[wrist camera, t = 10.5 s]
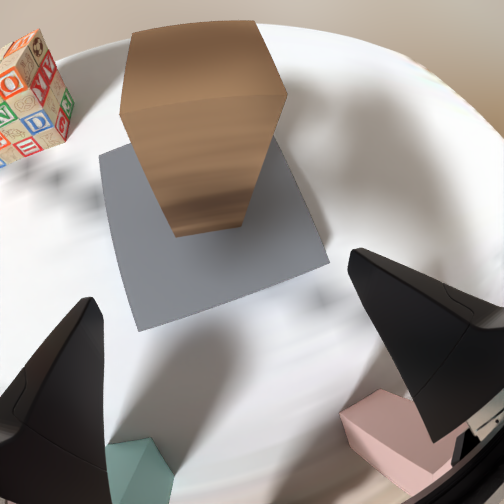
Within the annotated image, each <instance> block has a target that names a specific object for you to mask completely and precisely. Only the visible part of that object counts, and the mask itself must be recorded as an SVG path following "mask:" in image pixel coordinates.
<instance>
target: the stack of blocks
mask: <svg viewBox="0 0 504 504" xmlns="http://www.w3.org/2000/svg"><path fill="white" fill-rule="evenodd" d="M73 105H74V101H73V99H72V97H71V95H70V93H69V92H68V90H67V88H66V87H65V84H64V82H63V80H62V78H61V76H60V74H59V71H58V70H57V66H56V64H55V62H54V60H53V57H52V56H51V53H50V51H49V49H48V48H47V46H46V43H45V41H44V38H43V36H42V33H41V31H40V29H37V30H35V31H33V32H31V33H29V34H27V35H26V36H24V37H22V38H20V39H18V40H16V41H15V42H11V43H9V44H7V45H6V46H4V47H3V48H1V49H0V168H2V167H4V166H6V165H7V164H10V163H12V162H14V161H17V160H19V159H21V158H23V157H27V156H30V155H32V154H34V153H37V152H40V151H42V150H45V149H48V148H51V147H54V146H57V145H59V144H62V143H65V142H66V137H67V132H68V127H69V123H70V117H71V113H72V109H73Z"/></svg>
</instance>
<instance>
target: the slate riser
mask: <svg viewBox="0 0 504 504" xmlns="http://www.w3.org/2000/svg"><path fill="white" fill-rule="evenodd" d="M99 163H100V172H101V179H102V186H103V193H104V199H105V205H106V211H107V216H108V222H109V227H110V231H111V236H112V241H113V245H114V249H115V254H116V258H117V262H118V266H119V270H120V273H121V277H122V281H123V284H124V288H125V291H126V295H127V298H128V301H129V304H130V308H131V311H132V314H133V317H134V320H135V323H136V326H137V329H138V332H140V331H144V330H147V329H150V328H154V327H157V326H160V325H163V324H166V323H169V322H172V321H175V320H178V319H181V318H184V317H187V316H190V315H193V314H196V313H199V312H201V311H204V310H207V309H210V308H213V307H216V306H219V305H221V304H224V303H227V302H230V301H233V300H235V299H238V298H241V297H244V296H246V295H249V294H252V293H254V292H257V291H260V290H263V289H265V288H268V287H271V286H273V285H276V284H278V283H281V282H284V281H286V280H289V279H291V278H294V277H297V276H299V275H302V274H304V273H307V272H309V271H312V270H314V269H317V268H319V267H321V266H324V265H326V264H329V263H330V261H329V259H328V256H327V254H326V251H325V249H324V246H323V244H322V241H321V239H320V236H319V234H318V232H317V229H316V227H315V224H314V222H313V220H312V217H311V215H310V213H309V210H308V208H307V206H306V204H305V201H304V199H303V197H302V195H301V192H300V190H299V188H298V186H297V184H296V181H295V179H294V177H293V175H292V173H291V171H290V168H289V166H288V164H287V162H286V160H285V158H284V156H283V154H282V152H281V150H280V148H279V146H278V144H277V142H276V140H275V138H274V136H273V137H272V139H271V142H270V145H269V148H268V151H267V153H266V156H265V159H264V162H263V165H262V168H261V171H260V173H259V176H258V179H257V182H256V185H255V188H254V191H253V194H252V197H251V199H250V202H249V205H248V208H247V211H246V214H245V217H244V220H243V223H242V226H241V227H237V228H231V229H225V230H219V231H213V232H207V233H201V234H195V235H189V236H183V237H177V238H176V237H175V235H174V233H173V231H172V229H171V227H170V226H169V224H168V221H167V219H166V217H165V215H164V213H163V211H162V209H161V207H160V205H159V203H158V201H157V199H156V197H155V195H154V193H153V191H152V188H151V186H150V184H149V182H148V180H147V178H146V175H145V173H144V171H143V169H142V167H141V164H140V162H139V160H138V158H137V155H136V153H135V151H134V148H133V146H132V144H131V143H130V144H127V145H124V146H122V147H119V148H117V149H114V150H111V151H109V152H106V153H104V154H101V155H99Z"/></svg>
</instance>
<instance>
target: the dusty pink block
mask: <svg viewBox="0 0 504 504" xmlns="http://www.w3.org/2000/svg"><path fill="white" fill-rule="evenodd" d="M339 415H340V418H341V421H342V424H343V427H344V430H345V433H346V436H347V439H348V442H349V445H350V448H352V449H353V450H354V451H355V452H356V453H357V454H359V455H360V456H361V457H362V458H363V459H364V460H366V461H367V462H368V463H369V464H370V465H372V466H373V467H374V468H375V469H377V470H378V471H379V472H380V473H381V474H383V475H384V476H385V477H386V478H388V479H389V480H390V481H392V482H393V483H394V484H395V485H397V486H398V487H399V488H401V489H402V490H403V491H405V492H406V493H407V494H409V495H410V496H412V497H413V496H414V495H416V494H417V493H419V492H420V491H422V490H423V489H425V488H426V487H427V486H429V485H430V484H432V483H433V482H434V481H436V480H437V479H438V478H440V477H441V476H442V475H444V474H445V473H446V472H447V471H449V470H450V469H451V468H452V466H451V460H452V456H453V452H454V447H455V442H456V437H458V436H459V435H460V434H461V433H462V432H463V431H465V430H466V429H467V428H468V425H467V423H466V421H465V422H464V423H463V424H461V425H460V426H459V427H457V428H456V429H455V430H453V431H452V432H451V433H449V434H448V435H446V436H445V437H443V438H442V439H440V440H439V441H437V442H436V443H434V444H433V442H432V441H431V438H430V436H429V434H428V431H427V429H426V427H425V425H424V422H423V420H422V418H421V416H420V414H419V412H418V409H417V407H416V405H415V403H414V401H411V400H408V399H406V398H403V397H400V396H398V395H395V394H392V393H390V392H387V391H385V390H382V389H379V390H377V391H375V392H374V393H372V394H371V395H369V396H367V397H366V398H364V399H362V400H361V401H359V402H357V403H356V404H354V405H352V406H351V407H349V408H347V409H345V410H343V411H342V412H340V413H339Z"/></svg>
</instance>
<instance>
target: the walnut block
mask: <svg viewBox="0 0 504 504" xmlns="http://www.w3.org/2000/svg"><path fill="white" fill-rule="evenodd" d="M286 98H287V92H286V90H285V87H284V85H283V82H282V80H281V78H280V75H279V73H278V71H277V68H276V66H275V64H274V61H273V59H272V57H271V55H270V53H269V50H268V48H267V46H266V44H265V42H264V40H263V38H262V36H261V34H260V31H259V29H258V27H257V25H256V23H255V21H211V22H199V23H188V24H180V25H173V26H166V27H160V28H154V29H149V30H144V31H139V32H135V33H132V37H131V42H130V47H129V52H128V57H127V62H126V68H125V74H124V81H123V88H122V96H121V104H120V114H119V115H120V117H121V120H122V122H123V125H124V127H125V130H126V132H127V134H128V137H129V139H130V141H131V144H132V146H133V148H134V151H135V153H136V155H137V158H138V160H139V162H140V164H141V167H142V169H143V171H144V173H145V175H146V178H147V180H148V182H149V184H150V186H151V188H152V191H153V193H154V195H155V197H156V199H157V201H158V203H159V205H160V207H161V209H162V211H163V213H164V215H165V217H166V219H167V221H168V224H169V226H170V227H171V229H172V231H173V233H174V235H175V237H176V238H177V237H183V236H189V235H195V234H201V233H207V232H213V231H219V230H225V229H231V228H237V227H241V226H242V223H243V220H244V217H245V214H246V211H247V208H248V205H249V202H250V199H251V197H252V194H253V191H254V188H255V185H256V182H257V179H258V176H259V173H260V171H261V168H262V165H263V162H264V159H265V156H266V153H267V151H268V148H269V145H270V142H271V139H272V137H273V134H274V131H275V128H276V125H277V123H278V120H279V117H280V114H281V112H282V109H283V106H284V103H285V101H286Z"/></svg>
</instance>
